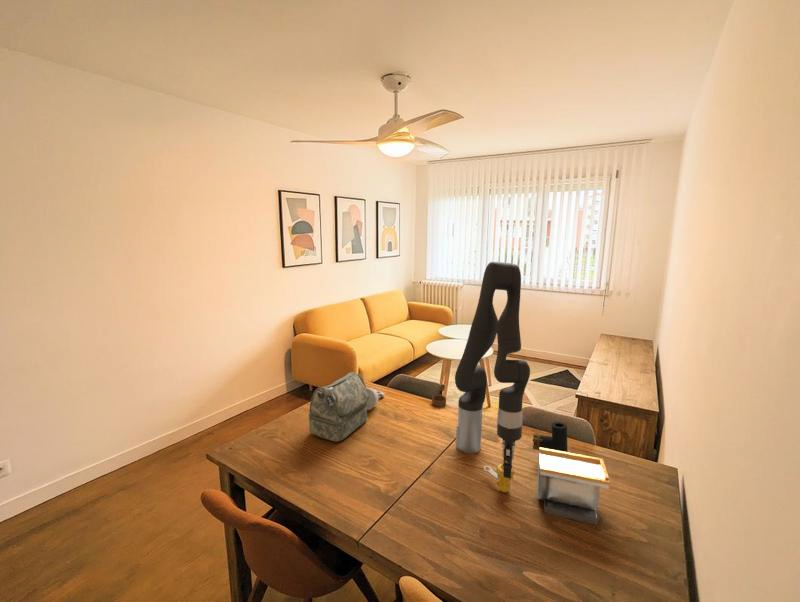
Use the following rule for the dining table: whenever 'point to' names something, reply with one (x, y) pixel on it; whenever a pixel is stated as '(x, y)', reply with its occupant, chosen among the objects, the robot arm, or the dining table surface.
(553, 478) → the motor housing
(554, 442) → the pipe connector
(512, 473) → the pressure relief valve
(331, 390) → the lunch bag
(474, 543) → the dining table surface
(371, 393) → the engine component
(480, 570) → the dining table surface
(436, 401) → the place setting
